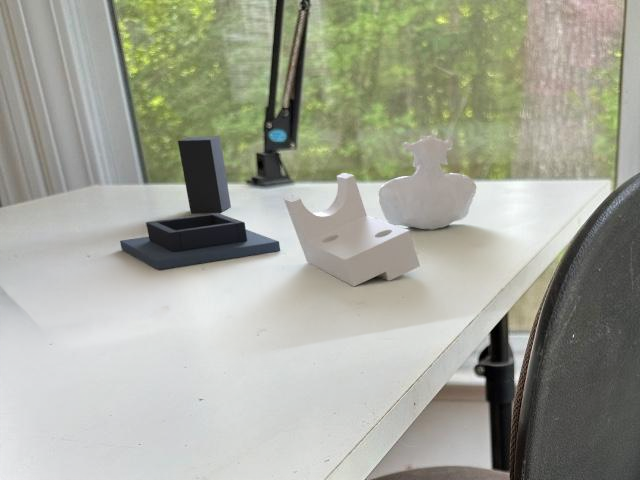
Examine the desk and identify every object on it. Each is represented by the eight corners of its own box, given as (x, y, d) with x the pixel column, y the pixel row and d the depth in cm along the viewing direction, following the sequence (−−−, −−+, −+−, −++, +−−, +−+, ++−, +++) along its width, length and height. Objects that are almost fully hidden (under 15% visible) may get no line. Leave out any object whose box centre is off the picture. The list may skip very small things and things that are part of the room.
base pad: (121, 249, 105) (115, 222, 103) (234, 233, 111) (230, 206, 109) (158, 270, 95) (152, 240, 93) (280, 250, 101) (276, 222, 99)
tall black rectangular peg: (190, 213, 125) (177, 140, 120) (200, 207, 128) (188, 137, 124) (222, 212, 124) (210, 139, 120) (231, 206, 128) (220, 136, 123)
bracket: (310, 270, 96) (283, 198, 91) (367, 244, 98) (344, 172, 93) (357, 295, 86) (330, 216, 82) (420, 266, 88) (397, 187, 83)
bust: (383, 250, 110) (386, 178, 99) (373, 201, 112) (375, 126, 101) (478, 242, 111) (491, 170, 101) (466, 194, 114) (478, 120, 103)
